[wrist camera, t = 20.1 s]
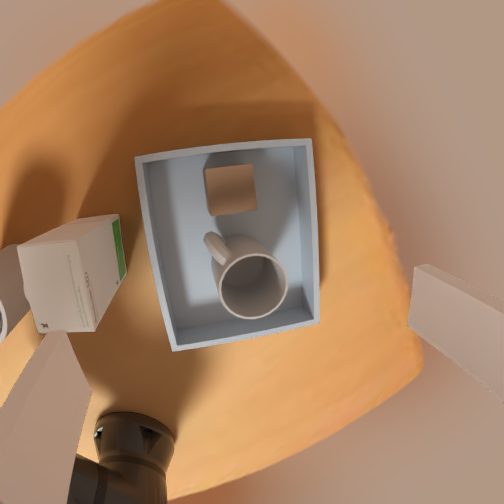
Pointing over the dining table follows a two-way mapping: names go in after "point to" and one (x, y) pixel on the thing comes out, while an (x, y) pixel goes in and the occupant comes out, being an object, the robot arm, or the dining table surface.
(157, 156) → the tote
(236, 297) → the cup
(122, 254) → the skincare box
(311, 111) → the dining table surface
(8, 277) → the cup
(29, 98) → the dining table surface
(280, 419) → the dining table surface
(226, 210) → the walnut cube
